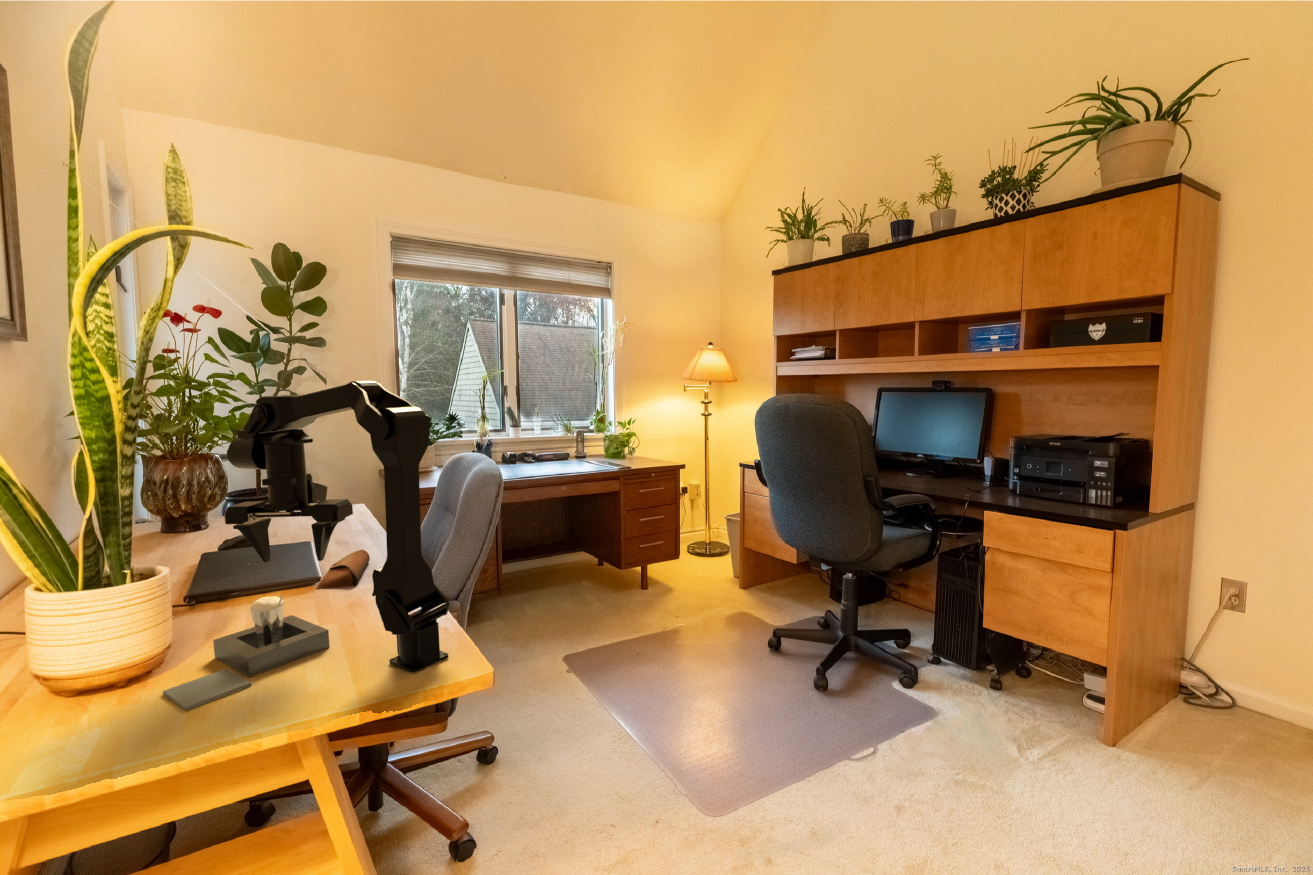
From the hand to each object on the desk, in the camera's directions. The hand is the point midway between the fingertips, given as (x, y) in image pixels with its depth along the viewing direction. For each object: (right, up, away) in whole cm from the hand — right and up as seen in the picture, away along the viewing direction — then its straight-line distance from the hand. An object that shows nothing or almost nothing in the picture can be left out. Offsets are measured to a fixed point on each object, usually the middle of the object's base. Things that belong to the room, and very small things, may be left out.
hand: (294, 561), depth 104 cm
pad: (-3, -15, -16) cm, 22 cm away
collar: (-1, -14, -4) cm, 15 cm away
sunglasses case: (-9, -11, +35) cm, 38 cm away
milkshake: (-1, -14, -4) cm, 15 cm away
